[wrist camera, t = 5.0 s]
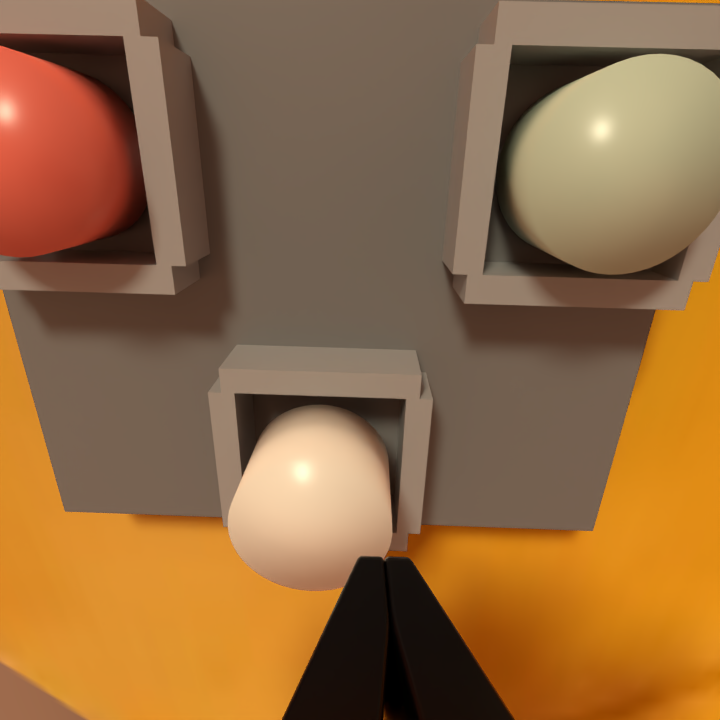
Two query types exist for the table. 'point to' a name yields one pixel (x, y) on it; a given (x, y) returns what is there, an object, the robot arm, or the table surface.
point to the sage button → (616, 165)
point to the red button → (63, 158)
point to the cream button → (313, 499)
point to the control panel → (338, 254)
